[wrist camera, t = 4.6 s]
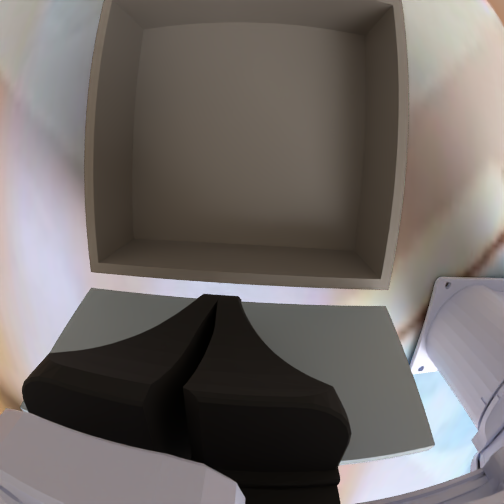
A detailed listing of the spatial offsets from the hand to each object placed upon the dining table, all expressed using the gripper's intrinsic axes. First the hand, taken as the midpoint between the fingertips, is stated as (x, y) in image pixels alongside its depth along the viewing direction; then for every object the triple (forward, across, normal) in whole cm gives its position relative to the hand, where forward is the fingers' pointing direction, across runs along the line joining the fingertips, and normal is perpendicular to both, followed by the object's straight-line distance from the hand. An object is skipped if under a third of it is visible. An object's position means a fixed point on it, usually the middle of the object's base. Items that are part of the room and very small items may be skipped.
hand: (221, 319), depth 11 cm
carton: (+8, 0, -7) cm, 11 cm away
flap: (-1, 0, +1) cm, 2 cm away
